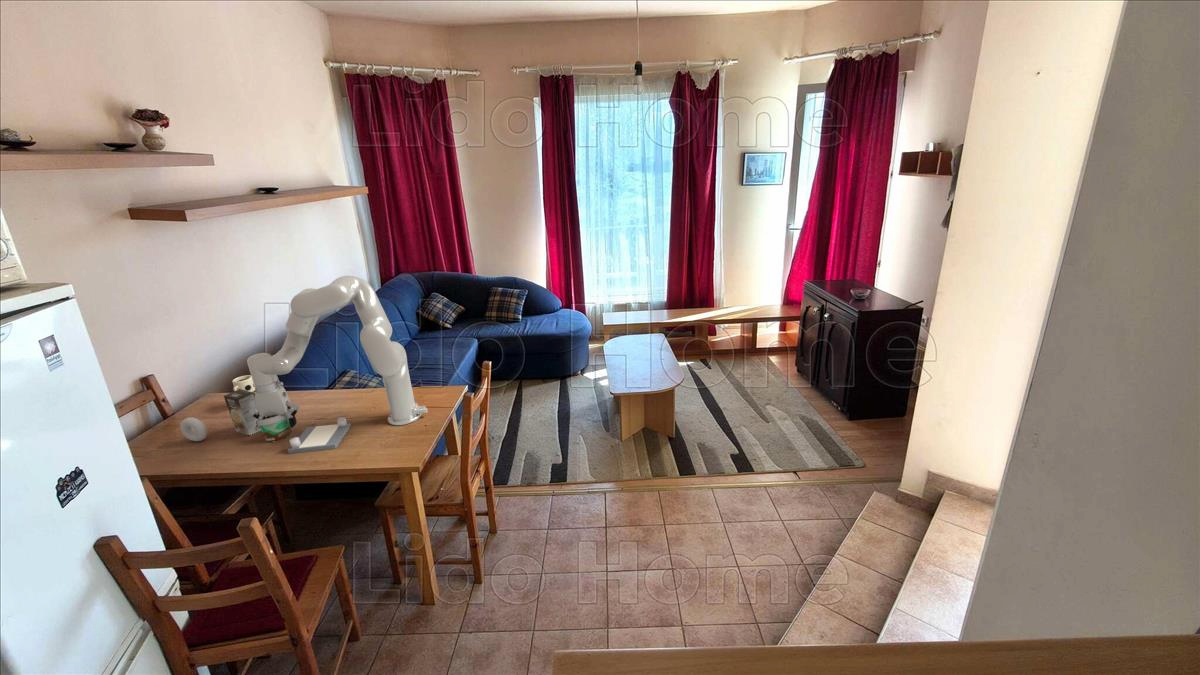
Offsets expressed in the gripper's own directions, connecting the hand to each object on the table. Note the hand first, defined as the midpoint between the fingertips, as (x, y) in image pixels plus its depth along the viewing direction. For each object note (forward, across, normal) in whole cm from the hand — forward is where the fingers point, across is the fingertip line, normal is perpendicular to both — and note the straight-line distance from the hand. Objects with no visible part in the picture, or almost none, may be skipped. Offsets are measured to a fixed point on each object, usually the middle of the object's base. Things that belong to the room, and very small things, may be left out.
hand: (280, 427), depth 187 cm
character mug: (+4, +28, -32) cm, 42 cm away
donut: (+4, +33, -4) cm, 33 cm away
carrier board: (+4, -16, +6) cm, 18 cm away
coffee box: (+4, +16, -8) cm, 18 cm away
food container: (+4, 0, 0) cm, 4 cm away
